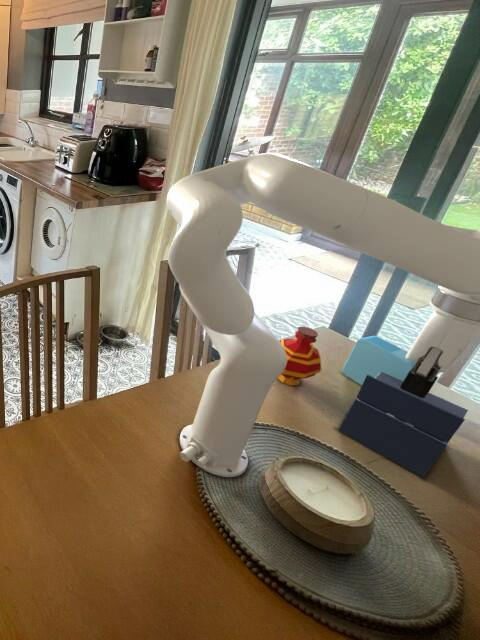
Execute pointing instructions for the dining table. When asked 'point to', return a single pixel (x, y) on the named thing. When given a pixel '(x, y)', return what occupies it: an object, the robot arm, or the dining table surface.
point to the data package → (376, 360)
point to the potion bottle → (300, 356)
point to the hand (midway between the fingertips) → (413, 390)
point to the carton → (396, 431)
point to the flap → (410, 408)
